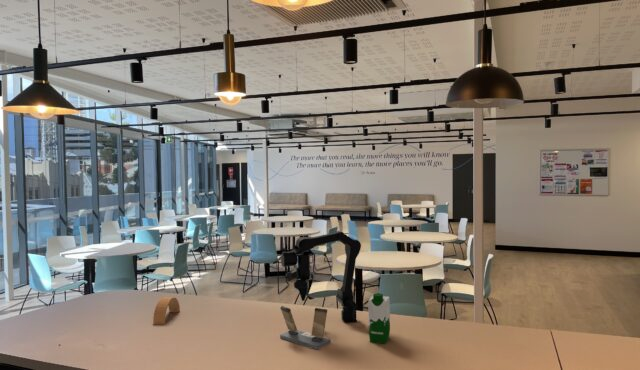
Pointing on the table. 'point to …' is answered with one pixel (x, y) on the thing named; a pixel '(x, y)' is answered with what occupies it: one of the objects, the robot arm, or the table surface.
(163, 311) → the arch
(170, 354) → the table surface
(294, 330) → the lever
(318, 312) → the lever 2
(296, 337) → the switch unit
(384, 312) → the milk carton
